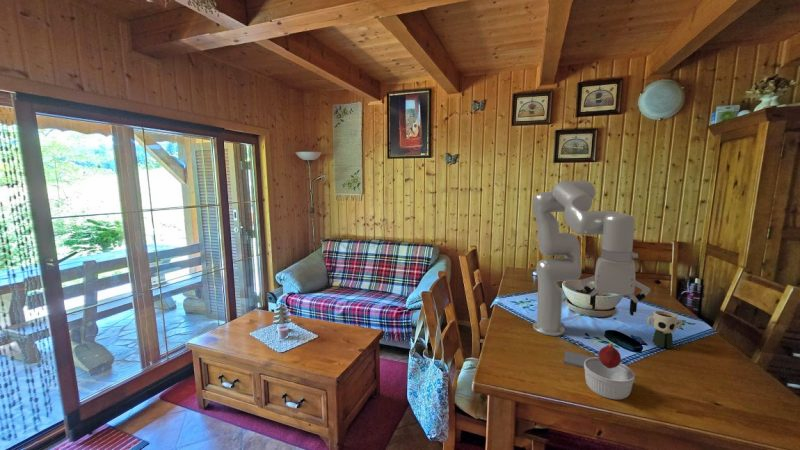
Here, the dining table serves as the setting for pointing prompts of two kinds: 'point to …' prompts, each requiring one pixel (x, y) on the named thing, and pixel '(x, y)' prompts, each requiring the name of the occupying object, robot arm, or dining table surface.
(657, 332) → the character mug
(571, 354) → the coaster
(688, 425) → the dining table surface
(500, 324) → the dining table surface
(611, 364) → the onion
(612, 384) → the ramekin
